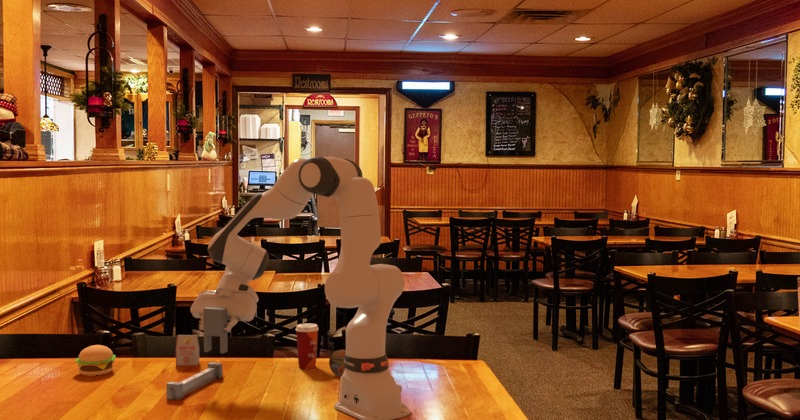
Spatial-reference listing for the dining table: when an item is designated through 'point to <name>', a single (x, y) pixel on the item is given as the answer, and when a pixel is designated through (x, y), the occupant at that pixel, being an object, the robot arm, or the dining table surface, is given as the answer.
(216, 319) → the clip
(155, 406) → the dining table surface
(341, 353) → the tin
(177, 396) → the rail
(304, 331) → the paper cup
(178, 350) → the printed food carton
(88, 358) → the hamburger
